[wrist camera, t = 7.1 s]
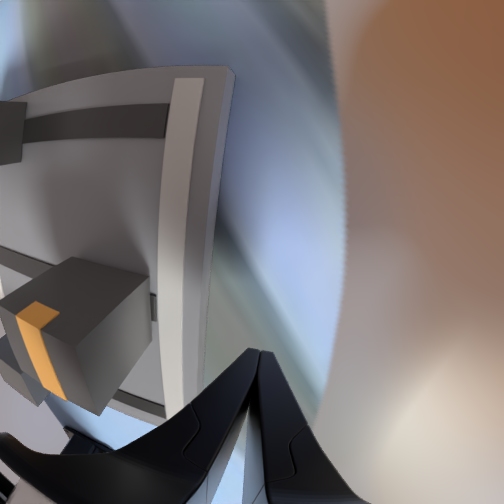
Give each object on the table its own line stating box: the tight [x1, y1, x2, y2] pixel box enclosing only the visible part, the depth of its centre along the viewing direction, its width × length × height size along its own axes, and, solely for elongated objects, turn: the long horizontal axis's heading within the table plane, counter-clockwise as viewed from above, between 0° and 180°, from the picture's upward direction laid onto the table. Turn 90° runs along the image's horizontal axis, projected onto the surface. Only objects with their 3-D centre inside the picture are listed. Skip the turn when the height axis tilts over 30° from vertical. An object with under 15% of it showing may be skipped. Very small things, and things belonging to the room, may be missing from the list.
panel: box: [0, 65, 236, 426], centre depth 10 cm, size 18×16×4 cm
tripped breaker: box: [0, 256, 152, 416], centre depth 8 cm, size 3×4×4 cm
